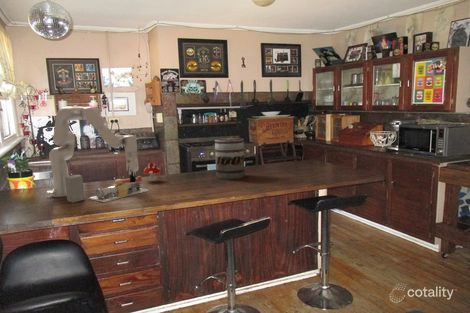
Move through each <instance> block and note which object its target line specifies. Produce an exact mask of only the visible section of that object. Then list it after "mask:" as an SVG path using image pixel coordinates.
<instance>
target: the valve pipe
mask: <svg viewBox="0 0 470 313" xmlns="http://www.w3.org/2000/svg"><path fill="white" fill-rule="evenodd" d="M147 192H149V189H147V188H142V181H141V182H132V183H124V184H118V185H117V184H116V183H114V184H111V186H108V187H104V188H96V190H95V195H94V196H90V197H88V199H89V200H92V201H95V202H101V203H106V202H112V201H115V200H119V199H123V198H126V197H131V196H134V195H139V194H143V193H147Z"/></svg>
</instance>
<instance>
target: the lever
mask: <svg viewBox="0 0 470 313" xmlns="http://www.w3.org/2000/svg"><path fill="white" fill-rule="evenodd" d="M114 182H115V183H114V184H117V185H118V184H126V183H132V182H130V178H127V179H122V178H118V179H115V181H114ZM136 182H141V183H142V182H143V176H141V175H138V176H137V177H136Z"/></svg>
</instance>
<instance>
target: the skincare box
mask: <svg viewBox="0 0 470 313" xmlns="http://www.w3.org/2000/svg"><path fill="white" fill-rule="evenodd" d="M65 182H66V191H67V196H66V199H67V202H68V203H71V202H72V203H73V204H74V203H77V202H81V201H84V200H85V190H84V178H83V175H80V174H73V175H69V176H67V177H65ZM72 203H71V204H72Z"/></svg>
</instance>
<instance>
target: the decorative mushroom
mask: <svg viewBox="0 0 470 313" xmlns="http://www.w3.org/2000/svg"><path fill="white" fill-rule="evenodd" d="M161 172H162V170H161V169H160V168H159V167H157V165H156V163H154V162H151V161H150V162H149V163H148V165H147V166H146V167H145V168H144V170H143V172H142V174H144V175H149V178H148V181H149V182H156V181H157V177H156V174H159V173H161Z"/></svg>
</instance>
